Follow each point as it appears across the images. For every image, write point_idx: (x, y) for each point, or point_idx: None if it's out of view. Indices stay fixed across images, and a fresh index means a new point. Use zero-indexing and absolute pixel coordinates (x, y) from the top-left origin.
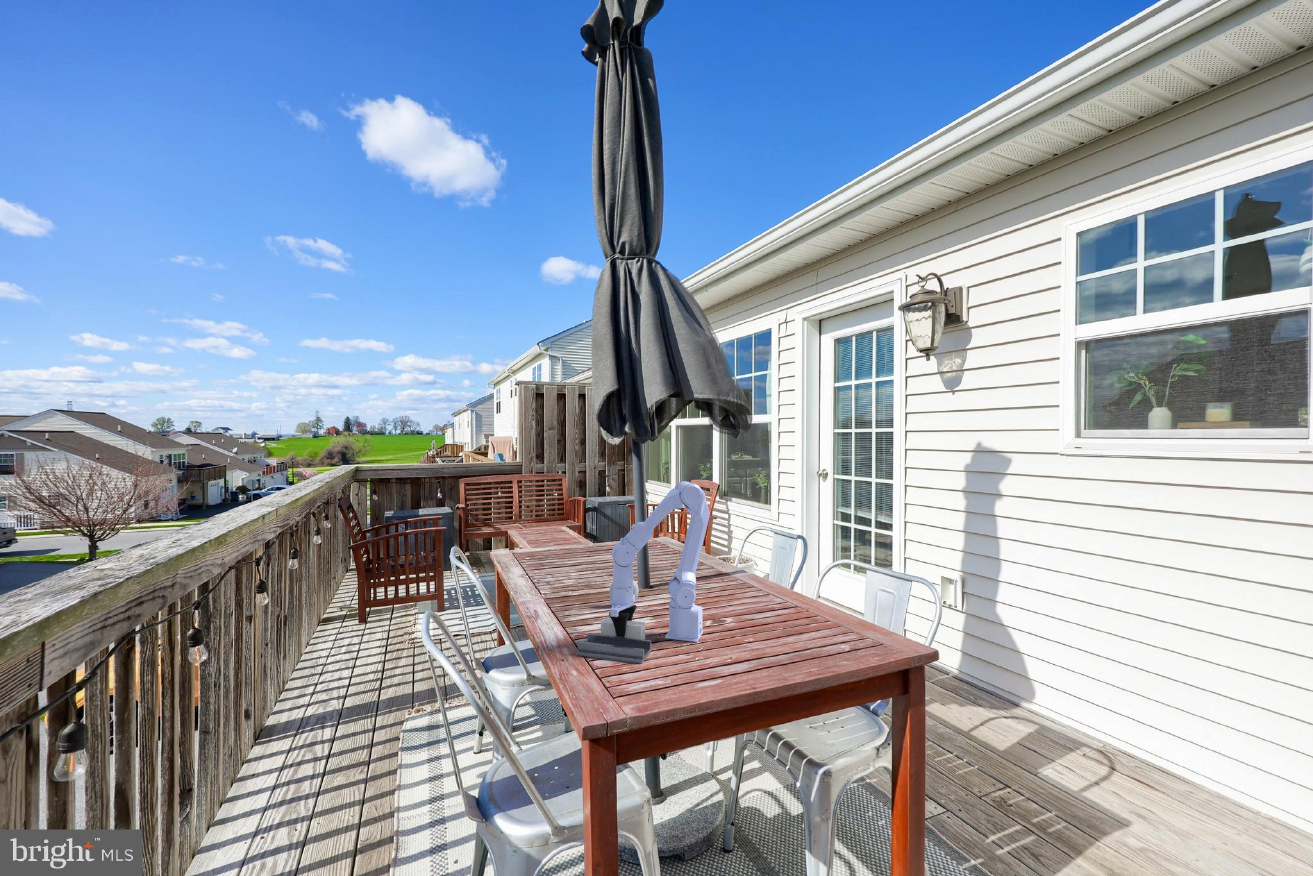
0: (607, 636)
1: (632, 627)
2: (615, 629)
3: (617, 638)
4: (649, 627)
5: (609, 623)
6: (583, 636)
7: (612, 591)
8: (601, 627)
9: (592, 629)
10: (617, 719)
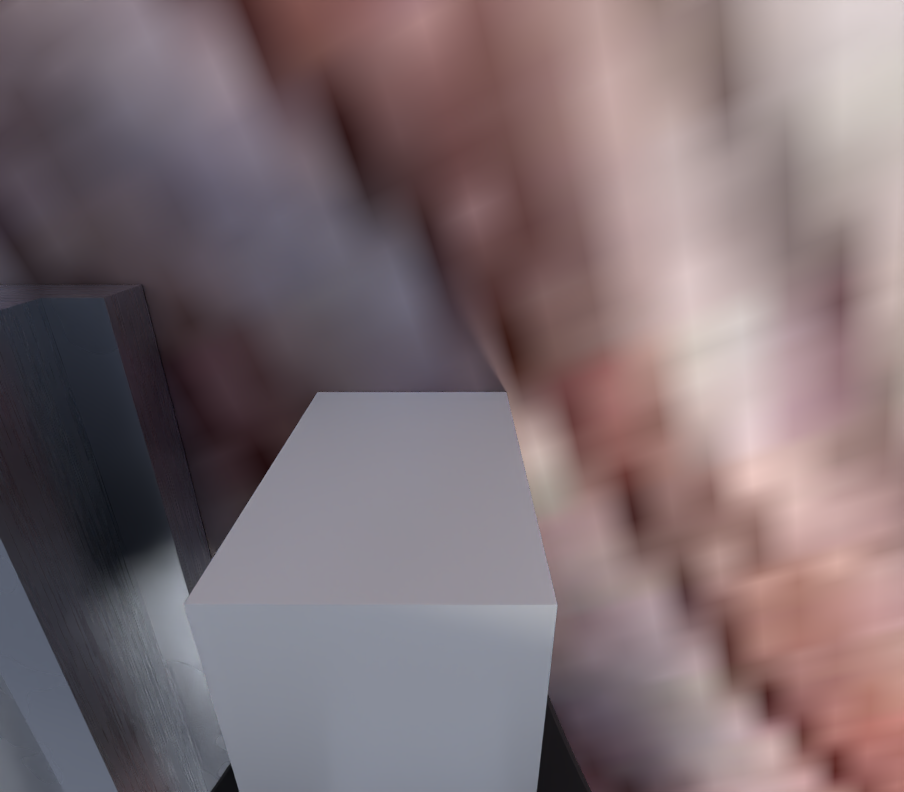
0: (16, 684)
1: None
2: (225, 774)
3: (71, 783)
4: (861, 740)
5: (237, 765)
6: (346, 5)
7: None
8: (247, 521)
9: (768, 25)
10: None
